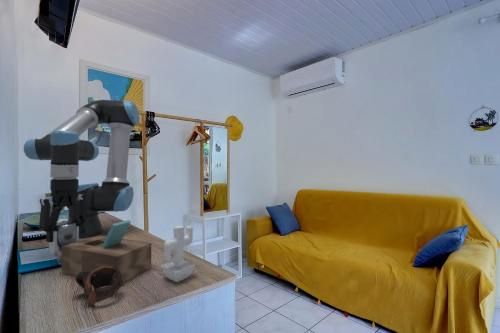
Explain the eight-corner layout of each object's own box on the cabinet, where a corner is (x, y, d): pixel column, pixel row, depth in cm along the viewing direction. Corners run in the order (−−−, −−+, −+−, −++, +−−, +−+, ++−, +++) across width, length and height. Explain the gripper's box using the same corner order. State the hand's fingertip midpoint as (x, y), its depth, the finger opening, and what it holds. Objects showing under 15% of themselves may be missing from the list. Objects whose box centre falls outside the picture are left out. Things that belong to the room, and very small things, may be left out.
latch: (120, 242, 81) (118, 240, 82) (130, 221, 80) (128, 219, 80) (104, 248, 76) (102, 246, 76) (114, 226, 74) (112, 224, 75)
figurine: (156, 279, 74) (157, 227, 73) (183, 269, 81) (184, 221, 81) (172, 287, 69) (172, 231, 69) (198, 275, 77) (199, 225, 77)
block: (100, 258, 89) (100, 235, 89) (151, 268, 82) (151, 243, 82) (61, 273, 77) (61, 246, 77) (117, 286, 69) (117, 256, 69)
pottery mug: (130, 286, 70) (131, 266, 66) (110, 320, 62) (110, 299, 58) (86, 275, 70) (85, 254, 66) (60, 308, 61) (58, 286, 58)
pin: (67, 258, 89) (67, 220, 88) (80, 261, 86) (80, 222, 86) (47, 265, 83) (47, 225, 82) (60, 268, 80) (61, 226, 80)
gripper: (39, 180, 74) (38, 260, 74) (99, 177, 92) (98, 241, 92) (23, 179, 76) (22, 256, 77) (84, 176, 95) (83, 239, 95)
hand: (64, 248), depth 84 cm, fingers closed on pin, 6 cm apart
